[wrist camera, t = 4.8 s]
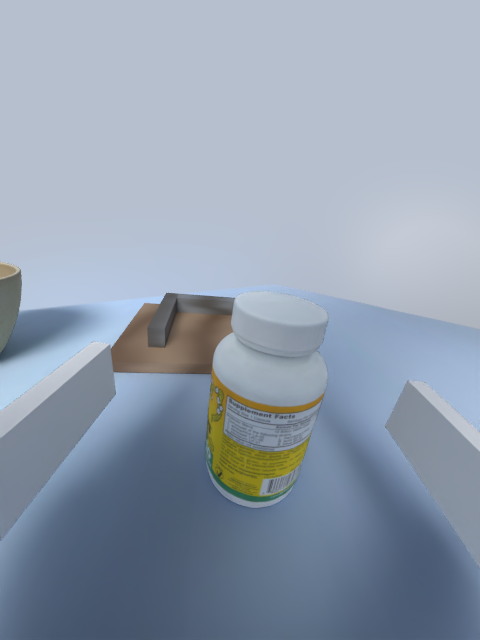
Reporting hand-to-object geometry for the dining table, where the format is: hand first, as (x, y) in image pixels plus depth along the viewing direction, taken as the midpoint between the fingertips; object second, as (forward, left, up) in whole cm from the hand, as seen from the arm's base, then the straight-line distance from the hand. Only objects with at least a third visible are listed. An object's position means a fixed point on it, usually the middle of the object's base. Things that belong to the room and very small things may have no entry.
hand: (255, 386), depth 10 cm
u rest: (+1, -16, -6) cm, 17 cm away
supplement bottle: (-1, -1, -6) cm, 6 cm away
